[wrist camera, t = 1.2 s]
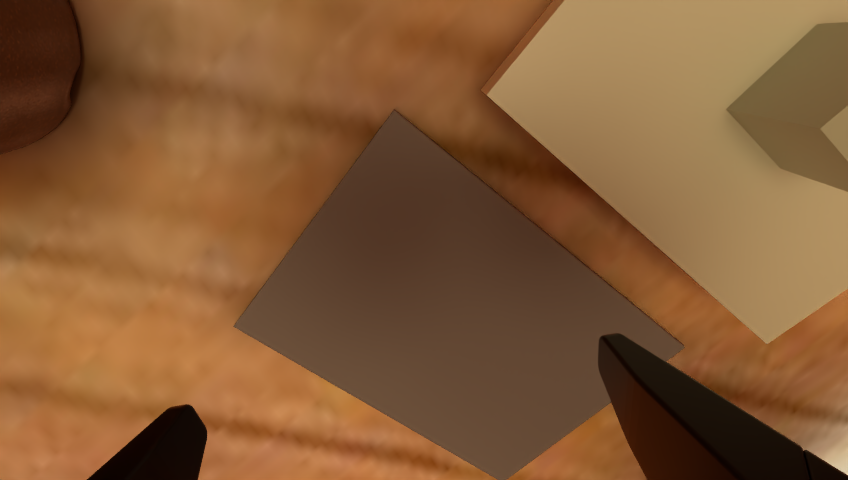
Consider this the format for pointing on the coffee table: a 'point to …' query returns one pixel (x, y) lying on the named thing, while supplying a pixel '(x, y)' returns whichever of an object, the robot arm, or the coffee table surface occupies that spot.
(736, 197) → the lid
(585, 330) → the mat
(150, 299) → the coffee table surface
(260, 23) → the coffee table surface
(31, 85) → the plant pot
